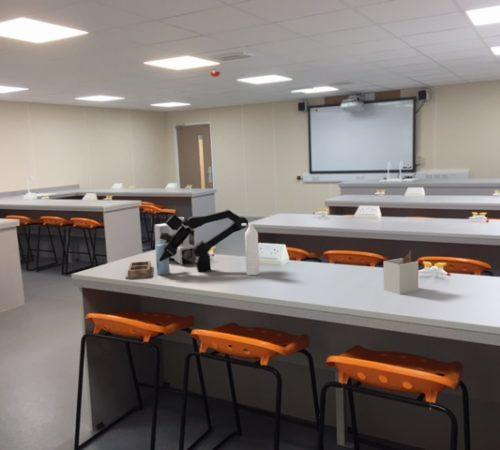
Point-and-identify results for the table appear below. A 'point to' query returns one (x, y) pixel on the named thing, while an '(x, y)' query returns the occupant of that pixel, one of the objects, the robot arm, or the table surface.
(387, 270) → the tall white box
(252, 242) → the water bottle
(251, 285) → the table surface
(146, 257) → the table surface
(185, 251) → the electronic device
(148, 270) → the wooden divided tray
